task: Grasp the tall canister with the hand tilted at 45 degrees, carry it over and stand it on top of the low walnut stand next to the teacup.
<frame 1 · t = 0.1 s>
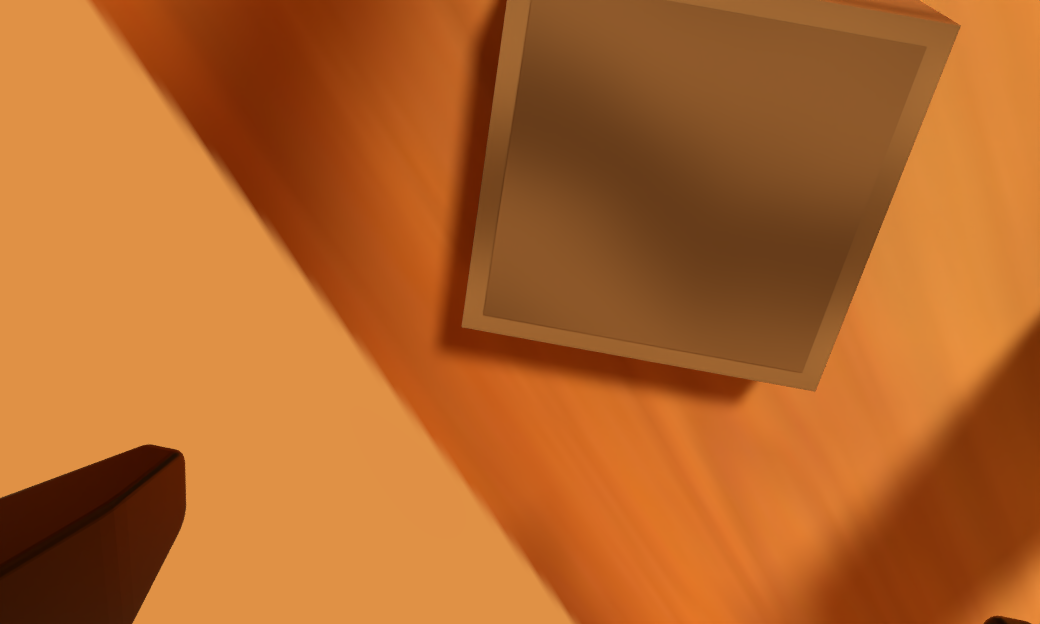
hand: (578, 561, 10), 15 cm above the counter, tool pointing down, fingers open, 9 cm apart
stand: (674, 149, 22), on the counter
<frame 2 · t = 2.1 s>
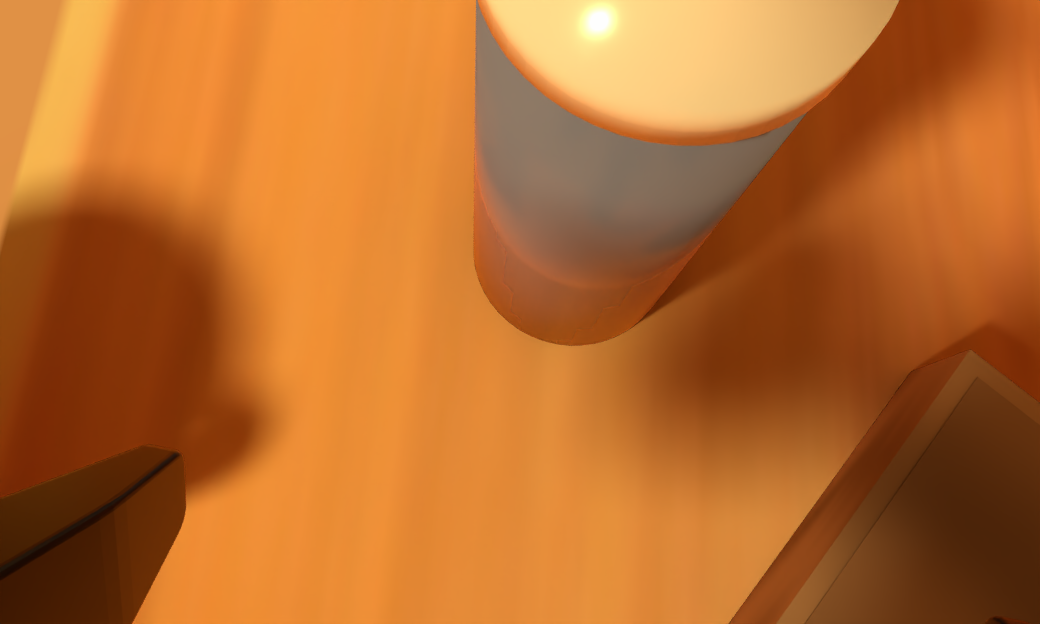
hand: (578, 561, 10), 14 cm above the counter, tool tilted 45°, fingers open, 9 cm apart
canister: (571, 249, 25), on the counter
stand: (958, 609, 23), on the counter
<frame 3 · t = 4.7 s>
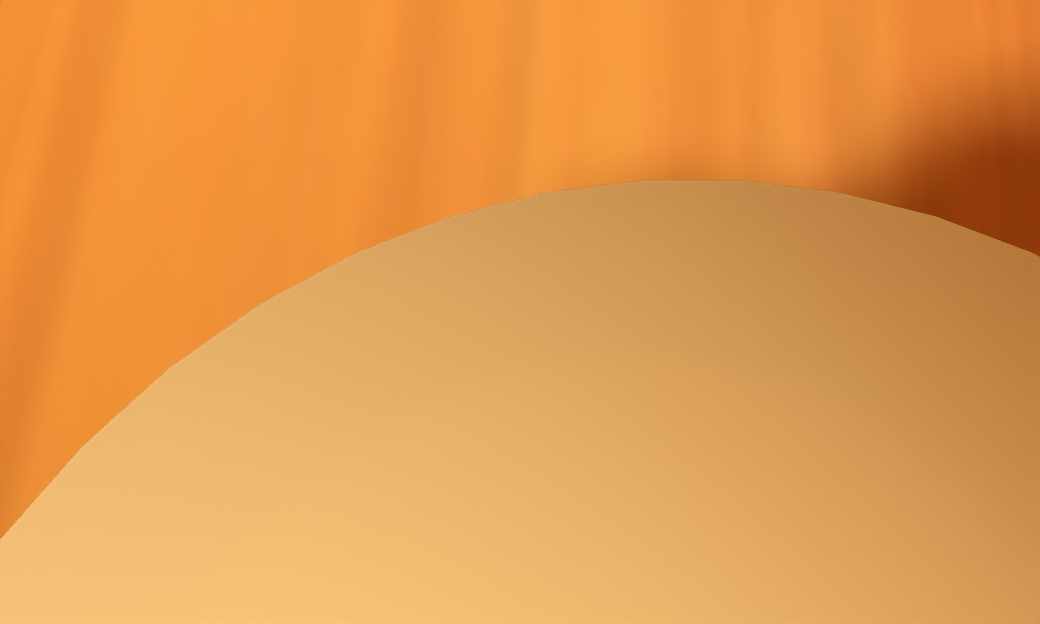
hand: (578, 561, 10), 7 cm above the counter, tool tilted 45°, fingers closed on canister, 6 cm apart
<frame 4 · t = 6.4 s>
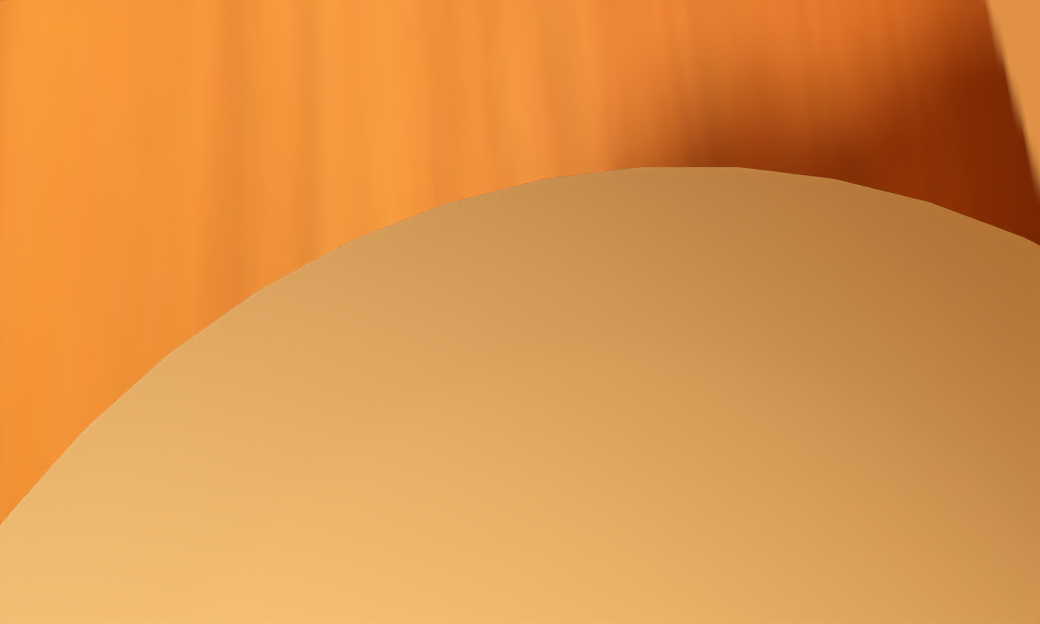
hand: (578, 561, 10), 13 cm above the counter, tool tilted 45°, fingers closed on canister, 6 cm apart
when the fingers open (11 cm above the counter, at t = 7.9 s): canister drops 1 cm, resting on stand.
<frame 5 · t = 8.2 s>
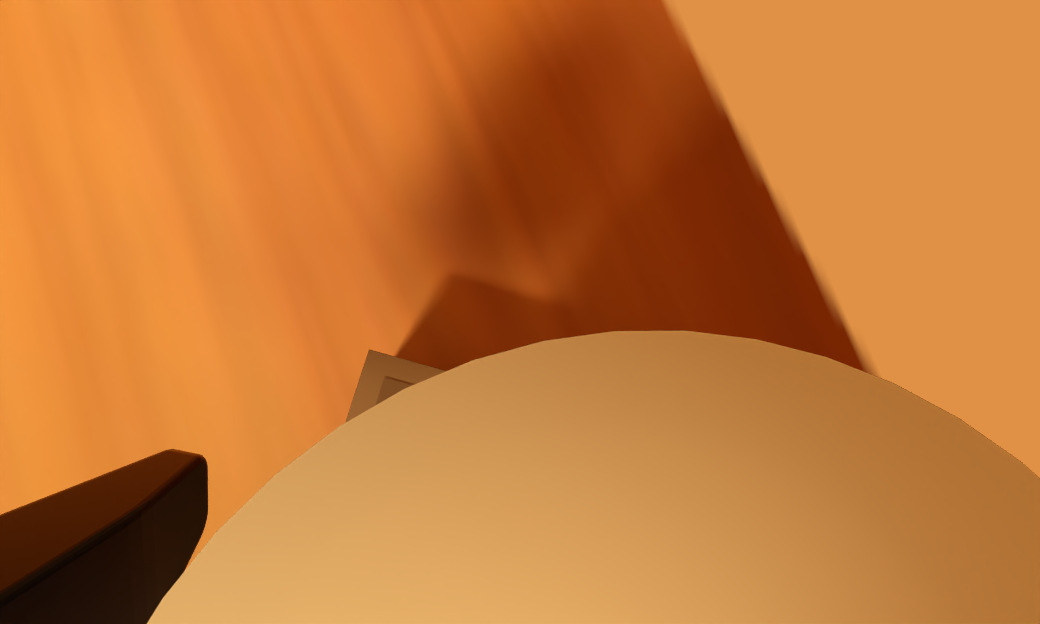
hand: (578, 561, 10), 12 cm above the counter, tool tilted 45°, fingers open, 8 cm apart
stand: (509, 608, 20), on the counter
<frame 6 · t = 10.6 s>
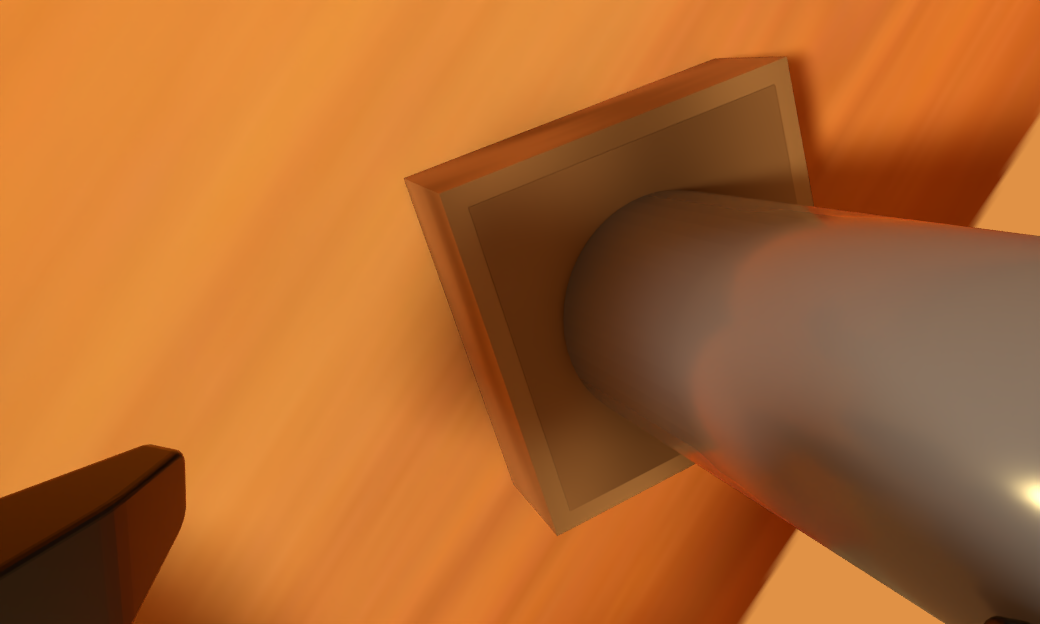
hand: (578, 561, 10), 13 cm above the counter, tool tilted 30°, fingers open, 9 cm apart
canister: (670, 307, 21), point 3 cm above the counter, touching stand
stand: (612, 275, 24), on the counter
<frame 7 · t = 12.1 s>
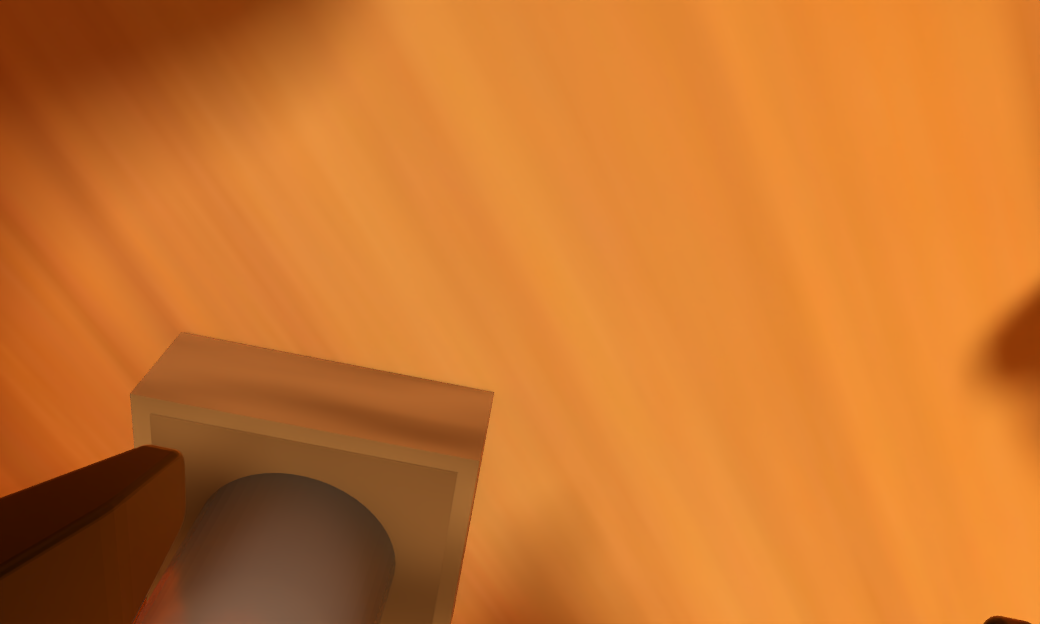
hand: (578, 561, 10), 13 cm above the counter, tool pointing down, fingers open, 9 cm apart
canister: (296, 550, 24), point 3 cm above the counter, touching stand
stand: (329, 481, 27), on the counter
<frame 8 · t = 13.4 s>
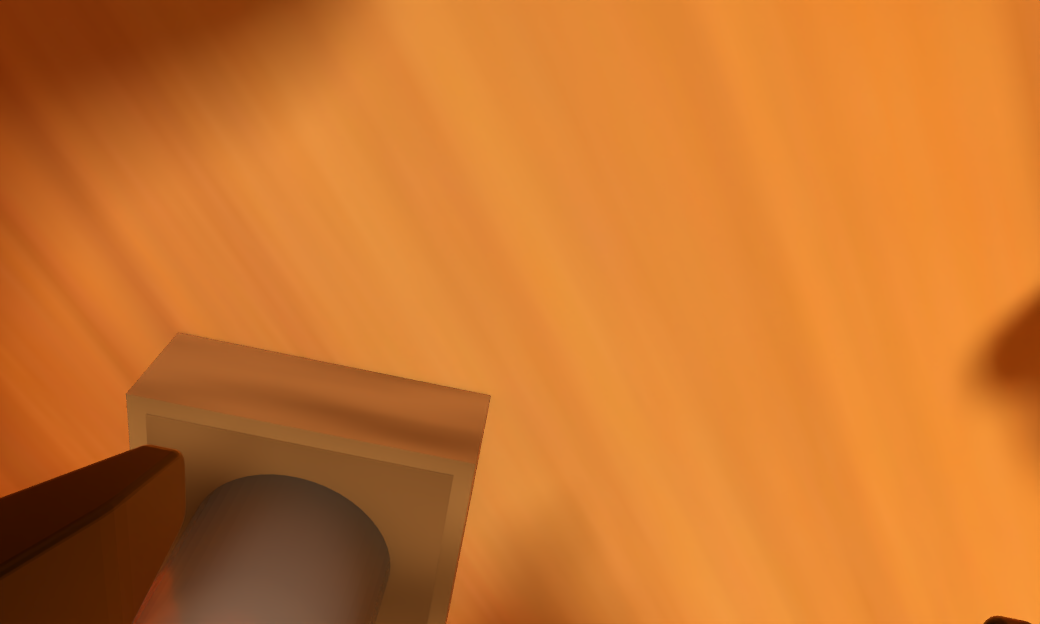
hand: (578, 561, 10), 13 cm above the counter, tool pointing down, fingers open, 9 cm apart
canister: (291, 552, 24), point 3 cm above the counter, touching stand
stand: (324, 483, 27), on the counter
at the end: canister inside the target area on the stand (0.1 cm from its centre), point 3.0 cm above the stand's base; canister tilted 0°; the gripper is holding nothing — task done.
